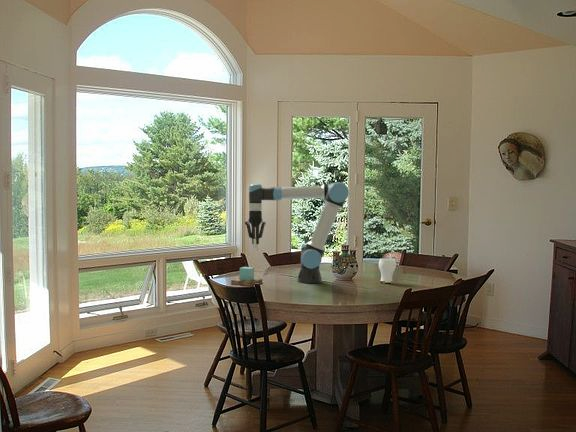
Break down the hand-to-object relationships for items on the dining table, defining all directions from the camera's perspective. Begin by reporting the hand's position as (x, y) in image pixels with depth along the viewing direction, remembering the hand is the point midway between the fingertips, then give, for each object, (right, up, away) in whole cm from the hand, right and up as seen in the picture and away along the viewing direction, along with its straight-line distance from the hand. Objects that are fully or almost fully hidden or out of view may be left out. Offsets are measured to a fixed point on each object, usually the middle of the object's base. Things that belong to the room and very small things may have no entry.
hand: (255, 249), depth 373 cm
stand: (-5, -20, -1) cm, 21 cm away
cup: (+81, -22, +19) cm, 86 cm away
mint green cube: (-5, -18, -1) cm, 19 cm away
